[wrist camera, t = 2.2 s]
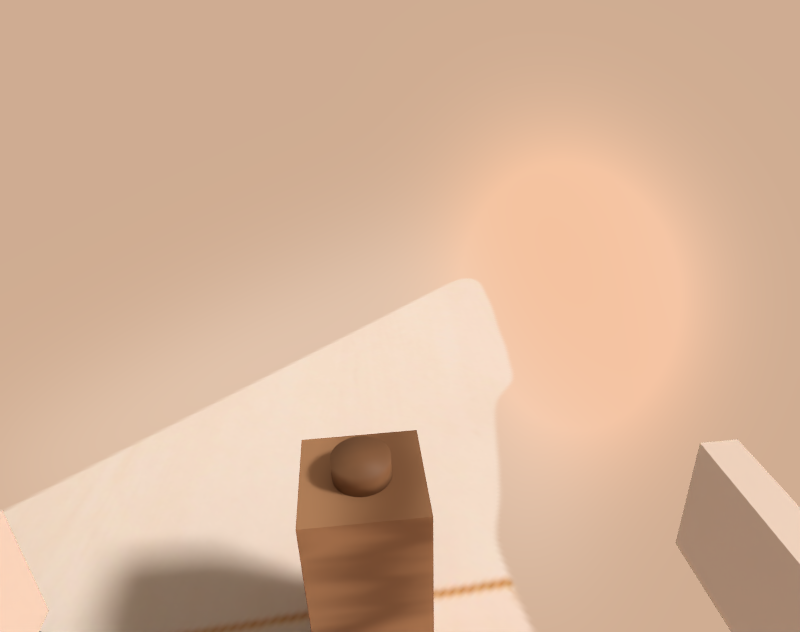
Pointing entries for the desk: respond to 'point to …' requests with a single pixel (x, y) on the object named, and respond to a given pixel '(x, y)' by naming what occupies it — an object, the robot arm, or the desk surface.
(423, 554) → the pillar
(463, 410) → the desk surface
